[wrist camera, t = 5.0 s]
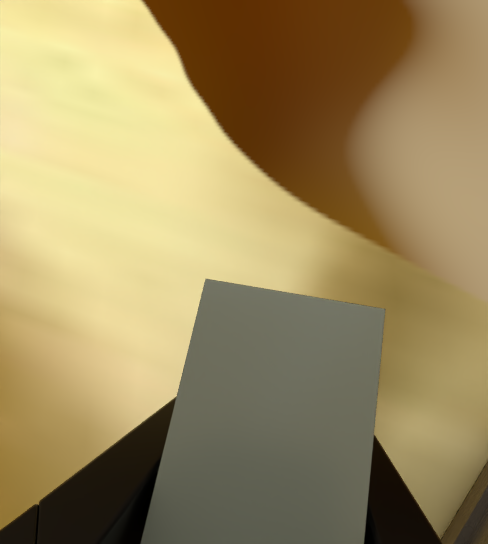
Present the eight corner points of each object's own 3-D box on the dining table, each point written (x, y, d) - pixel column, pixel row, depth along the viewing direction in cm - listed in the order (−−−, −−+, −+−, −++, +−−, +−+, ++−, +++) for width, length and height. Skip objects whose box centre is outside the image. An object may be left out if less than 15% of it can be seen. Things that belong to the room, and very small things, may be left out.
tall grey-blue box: (295, 603, 13) (327, 937, 4) (201, 577, 13) (68, 838, 5) (325, 374, 15) (384, 308, 7) (244, 358, 16) (205, 278, 7)
